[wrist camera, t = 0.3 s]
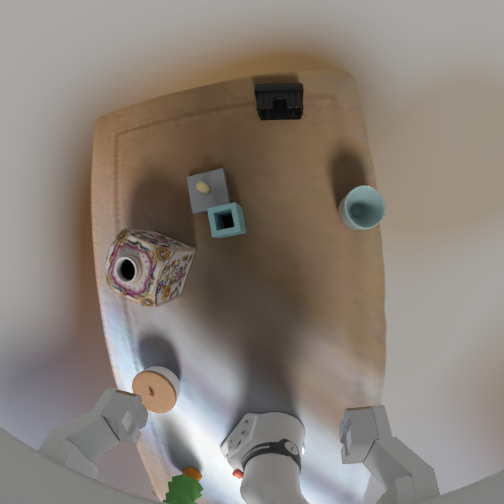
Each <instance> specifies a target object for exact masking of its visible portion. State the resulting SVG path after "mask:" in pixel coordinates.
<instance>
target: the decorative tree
mask: <svg viewBox="0 0 504 504" xmlns="http://www.w3.org/2000/svg"><path fill="white" fill-rule="evenodd" d="M182 472H183V474H184V475H179V476H174V477H172V482H168V486H169V492H168V493H166V500H163V502H165V503H169V504H197V503H195V502H194V501H195V500H196V499H198V498H199V497H201V496H202V495H201V494H200V492H201V491H202V490H203V488H202V486H201V485H200V483H199V482H198V481H200V479H201V477H202V475H201V473H200V471H198V470H196V469H194V468H192V467H190V466H189V467H188V468H186V469H184V470H183V471H182Z"/></svg>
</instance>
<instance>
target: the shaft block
mask: <svg viewBox="0 0 504 504" xmlns="http://www.w3.org/2000/svg"><path fill="white" fill-rule="evenodd" d="M187 183H188V189H189V196H190V202H191V208H192V213H193V214H199V213H204V212H208V211H207V208H212V207H216V206H220V205H225V204H230V203H231V202H230V197H229V191H228V186H227V181H226V175H225V170H224V169H223V168H221V169H217V170H213V171H209V172H205V173H201V174H197V175H193V176H189V177H187Z"/></svg>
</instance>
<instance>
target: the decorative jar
mask: <svg viewBox="0 0 504 504" xmlns="http://www.w3.org/2000/svg"><path fill="white" fill-rule="evenodd" d="M195 252H196V249H195V248H193V247H191V246H189V245H186V244H184V243H182V242H179V241H176V240H174V239H172V238H169V237H166V236H164V235H162V234H159V233H157V232H154V231H149V230H137V229H123V230H121V232H120V233H119V234H118V236H117V237H116V239H115V240H114V242H113V243H112V244H111V246H110V249H109V252H108V256H107V258H106V263H105V274H106V281H107V284H108V285H109V286H110V288H111V289H112V290H113V291H114V292H115V293H116V294H118V295H119V296H121V297H123V298H124V299H126V300H129V301H131V302H134V303H136V304H137V303H138V304H140V305H142V306H148V307H150V308H156V307H158V306H161V305H164V304H166V303H168V302H170V301H172V300H175V299H176V298H178V297H180V295H181V292H182V289H183V286H184V283H185V281H186V277H187V275H188V272H189V269H190V266H191V264H192V261H193V258H194V255H195Z"/></svg>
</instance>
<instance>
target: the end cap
mask: <svg viewBox="0 0 504 504" xmlns="http://www.w3.org/2000/svg"><path fill="white" fill-rule="evenodd" d="M303 91H304V90H303V84H302V83H278V84H256V85H255V95H256V100H257V111H258V116H259V117H260V119H261V120H294V119H301V117H302V114H303Z"/></svg>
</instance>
